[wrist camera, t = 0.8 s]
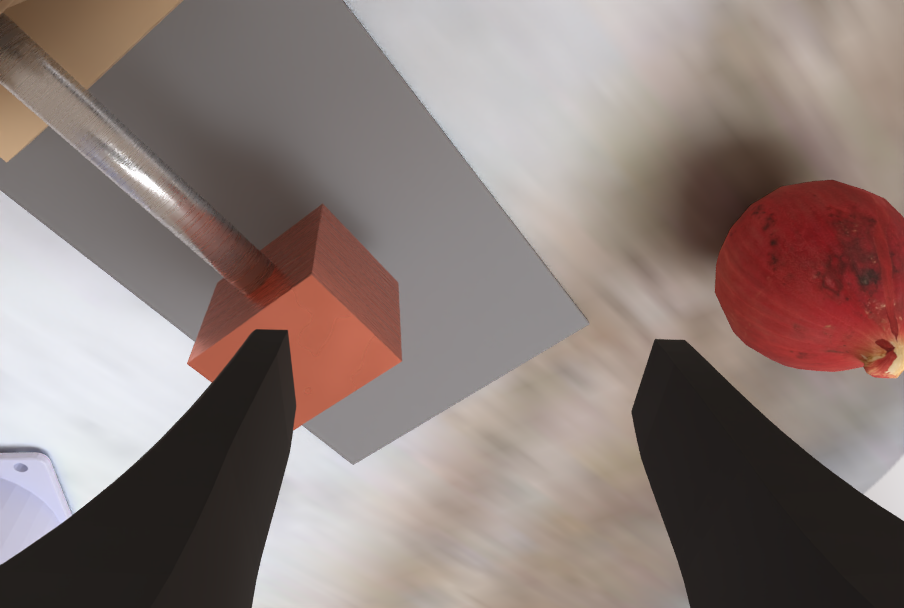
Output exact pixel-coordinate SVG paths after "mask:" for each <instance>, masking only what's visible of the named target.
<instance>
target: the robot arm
mask: <svg viewBox="0 0 904 608" xmlns="http://www.w3.org/2000/svg"><path fill="white" fill-rule="evenodd" d="M631 412H632V417H633V422H634V427H635V433H636V438H637V442H638V446H639V451H640V455H641V459H642V462H643V465H644V468H645V471H646V474H647V476H648V479H649V482H650V485H651V488H652V491H653V494H654V496H655V499H656V502H657V505H658V507H659V510H660V513H661V516H662V518H663V521H664V524H665V527H666V530H667V532H668V535H669V538H670V541H671V543H672V546H673V549H674V552H675V555H676V557H677V560H678V564H679V567H680V570H681V573H682V576H683V580H684V584H685V588H686V592H687V596H688V600H689V604H690V608H904V521H903V520H901V519H900V518H898V517H897V516H895V515H893V514H892V513H890V512H889V511H887V510H886V509H884V508H882V507H881V506H879V505H878V504H876V503H875V502H873V501H872V500H870V499H869V498H868V497H866V496H865V495H863V494H862V493H860V492H859V491H857V490H856V489H855V488H853V487H852V486H851V485H849V484H848V483H847V482H845V481H844V480H843V479H841V478H840V477H838V476H837V475H836V474H834V473H833V472H832V471H830V470H829V469H828V468H826V467H825V466H824V465H822V464H821V463H820V462H819V461H817V460H816V459H815V458H813V457H812V456H811V455H810V454H808V453H807V452H806V451H805V450H804V449H802V448H801V447H800V446H799V445H798V444H796V443H795V442H794V441H793V440H792V439H791V438H789V437H788V436H787V435H786V434H785V433H783V432H782V431H781V430H780V429H779V428H778V427H777V426H775V425H774V424H773V423H772V422H771V421H770V420H769V419H768V418H766V417H765V416H764V415H763V414H762V413H761V412H760V411H759V410H758V409H757V408H755V407H754V406H753V405H752V404H751V403H750V402H749V401H748V400H747V399H746V398H745V397H744V396H743V395H742V394H741V393H740V392H739V391H737V390H736V389H735V388H734V387H733V386H732V385H731V384H730V383H729V382H728V381H727V380H726V379H725V378H724V377H723V376H722V375H721V374H720V373H719V372H718V371H717V370H716V369H715V368H714V367H713V366H712V365H711V364H710V363H709V362H708V361H707V360H706V359H705V358H703V357H702V356H701V355H700V354H699V353H698V352H697V351H696V350H695V349H694V348H693V347H692V346H691V345H690V344H689V343H688V342H686V341H685V340H664V339H655V340H654V343H653V346H652V350H651V353H650V356H649V359H648V362H647V365H646V368H645V371H644V374H643V377H642V380H641V384H640V387H639V390H638V393H637V396H636V399H635V402H634V405H633V408H632V411H631ZM295 413H296V397H295V388H294V379H293V370H292V362H291V353H290V344H289V335H288V330H270V329H255V330H254V331H253V332H252V333H251V334H250V335H249V336H248V338H247V339H246V340H245V342H244V343H243V344H242V346H241V347H240V348H239V350H238V351H237V352H236V354H235V355H234V356H233V357H232V359H231V360H230V361H229V363H228V364H227V365H226V366H225V368H224V369H223V370H222V371H221V372H220V374H219V375H218V376H217V377H216V379H215V380H214V381H213V382H212V383H211V384H210V386H209V387H208V388H207V389H206V390H205V391H204V393H203V394H202V395H201V396H200V397H199V398H198V400H197V401H196V402H195V403H194V404H193V405H192V406H191V408H190V409H189V410H188V411H187V412H186V413H185V414H184V415H183V416H182V417H181V418H180V419H179V420H178V421H177V422H176V423H175V424H174V425H173V427H172V428H171V429H170V430H169V431H168V432H167V433H166V434H165V435H164V436H163V437H162V438H161V439H160V440H159V441H158V442H157V443H156V444H155V445H154V446H153V447H152V448H151V449H150V450H149V451H148V452H147V453H146V454H145V455H143V456H142V457H141V458H140V459H139V460H138V461H137V462H136V463H135V464H134V465H133V466H131V467H130V468H129V469H128V470H127V471H126V472H125V473H124V474H122V475H121V476H120V477H119V478H118V479H117V480H116V481H114V482H113V483H112V484H111V485H109V486H108V487H107V488H106V489H105V490H103V491H102V492H101V493H100V494H98V495H97V496H96V497H95V498H93V499H92V500H91V501H90V502H89V503H87V504H86V505H85V506H84V507H82V508H81V509H80V510H78V511H77V512H76V513H75V514H73V515H72V514H71V511H70V509H69V506H68V504H67V501H66V499H65V496H64V493H63V491H62V488H61V486H60V483H59V481H58V478H57V476H56V473H55V471H54V468H53V465H52V463H51V460H50V459H49V458H48V457H47V456H46V455H44V454H42V453H37V452H20V453H0V608H252V602H253V597H254V591H255V585H256V579H257V575H258V570H259V566H260V562H261V557H262V553H263V550H264V546H265V542H266V539H267V535H268V531H269V528H270V524H271V520H272V517H273V513H274V509H275V506H276V502H277V498H278V495H279V491H280V487H281V484H282V480H283V476H284V472H285V469H286V465H287V461H288V457H289V453H290V447H291V441H292V434H293V427H294V420H295Z"/></svg>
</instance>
